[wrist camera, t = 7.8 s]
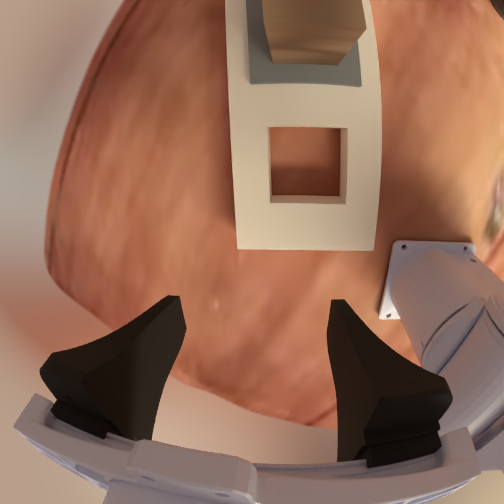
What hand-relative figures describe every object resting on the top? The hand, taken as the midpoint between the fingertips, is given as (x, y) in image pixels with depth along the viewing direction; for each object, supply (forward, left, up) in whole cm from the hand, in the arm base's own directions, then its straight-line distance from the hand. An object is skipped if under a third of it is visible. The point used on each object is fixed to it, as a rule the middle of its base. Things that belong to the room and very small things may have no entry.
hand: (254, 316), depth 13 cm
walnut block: (-3, -15, -7) cm, 17 cm away
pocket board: (-3, -10, -10) cm, 15 cm away
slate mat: (-3, -15, -8) cm, 17 cm away
